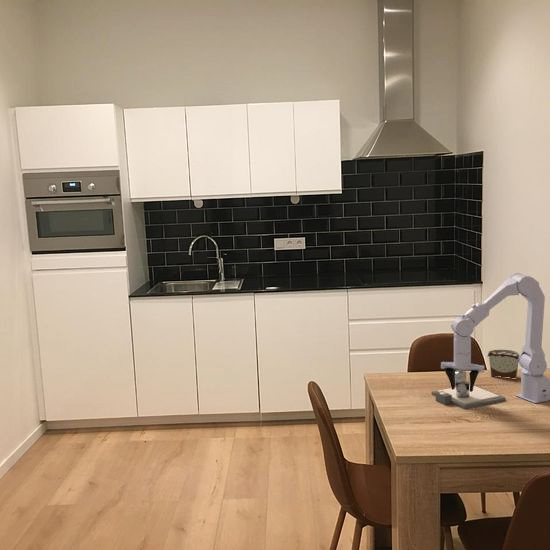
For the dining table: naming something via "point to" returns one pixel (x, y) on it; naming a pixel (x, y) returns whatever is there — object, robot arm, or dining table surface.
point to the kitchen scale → (474, 399)
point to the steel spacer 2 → (462, 389)
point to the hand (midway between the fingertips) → (462, 389)
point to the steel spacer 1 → (460, 375)
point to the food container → (503, 363)
